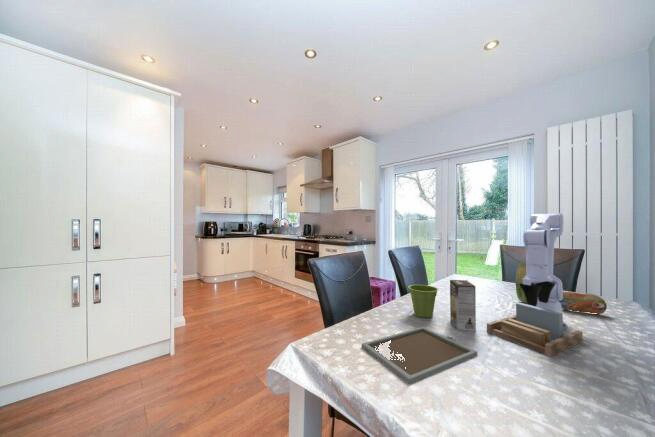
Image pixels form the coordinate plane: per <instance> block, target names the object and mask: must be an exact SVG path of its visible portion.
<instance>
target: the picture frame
mask: <svg viewBox="0 0 655 437" xmlns="http://www.w3.org/2000/svg"><path fill="white" fill-rule="evenodd" d="M390 340H391V343H390V344H389V346H390V347H388V348H389V349H390V350H391V352H390V354H392V353H393V351H394V356H395V357H396V358H395V357H394V356H392V355H391V356H392V357H393V358H391V357H390V358H391V359H393V360H391V359H390V360H388V359H387V358H386V357H384V356H383V355H382V354H380V353H379V351H376V350H377V349H378V347H379V345H380V343H381V344H382V343H385V342H388V341H390ZM382 345H383V344H382ZM375 346H376V347H377V348H376V347H375ZM362 347H363V348H362ZM361 348H362V349H364V350H365V351H366V352H367V351H368V352H367V353H369V354H370V355H371V356H373V357H374V358H375V359H376V358H377V359H376V360H378V361H379V362H380V361H381V362H380V363H381V364H383V365H384V364H385V365H386V367H387V368H388V367H389V368H390V369H389V368H388V369H389V370H391V371H392V372H393V371H394V372H395V373H394V372H393V373H394V374H395V375H396V376H398V375H399V376H398V377H399V378H401V379H402V380H403V379H404V380H403V381H404V382H406V381H407V382H408V383H407V382H406V383H407V384H409V385H410V384H413V383H415V382H417V381H419V380H421V379H424V378H426V377H430V376H432V375H434V374H436V373H439V372H441V371H444V370H446V369H449V368H450V367H452V366H455V365H458V364H460V363H462V362H465V361H467V360H470V359H472V358H473V357H476V356H478V351H477V350H476V349H473V348H471V347H468V346H466V345H464V344H462V343H460V342H458V341H456V339H455V338H454V337H453V336H448V335H447V336H446V335H443V334H441V333H438V332H436V331H434V330H433V329H430V328H428V327H426V326H420V327H417V328H414V329H410V330H407V331H403V332H399V333H396V334H390V335H387V336H384V337H381V338H378V339H373V340H370V341H366V342H362V343H361ZM375 348H376V350H375ZM378 350H379V349H378ZM397 352H398V353H397ZM395 354H402V356H403V357H404V358H405V361H404V359H403V360H401V361H400V359H399V360H397V359H398V357H397V356H396V355H395ZM399 357H400V356H399ZM400 358H401V359H402V357H400ZM394 359H396V360H394ZM402 361H403V362H402ZM385 365H384V366H385ZM405 367H406V369H405Z"/></svg>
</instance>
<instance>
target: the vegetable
mask: <svg viewBox="0 0 655 437" xmlns="http://www.w3.org/2000/svg"><path fill="white" fill-rule="evenodd" d="M515 274H516V275H515V292H516V293H515V294H516V297H517V299H518V301H520V303H523V304H526V303H527V300H526V297H525V294H524V292H523V290H522V288H521V287H520V283H523V278H525V276H526V261H520V263H519V264H518V266H517V268H516V273H515ZM527 304H528V303H527Z"/></svg>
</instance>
